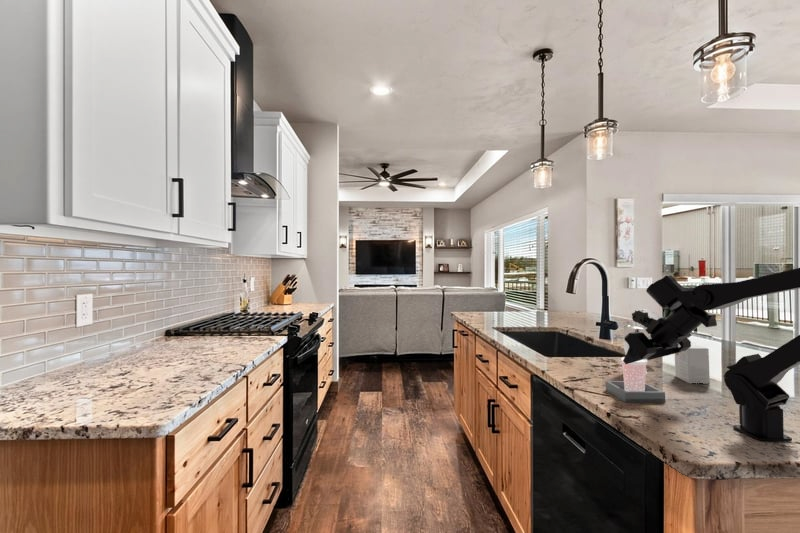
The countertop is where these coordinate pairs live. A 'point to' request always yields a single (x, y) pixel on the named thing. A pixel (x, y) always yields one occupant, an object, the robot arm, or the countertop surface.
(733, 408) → the countertop surface
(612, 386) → the tray
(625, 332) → the beer glass
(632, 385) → the beverage cup
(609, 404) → the countertop surface
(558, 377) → the countertop surface
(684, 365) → the small box
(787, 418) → the countertop surface
